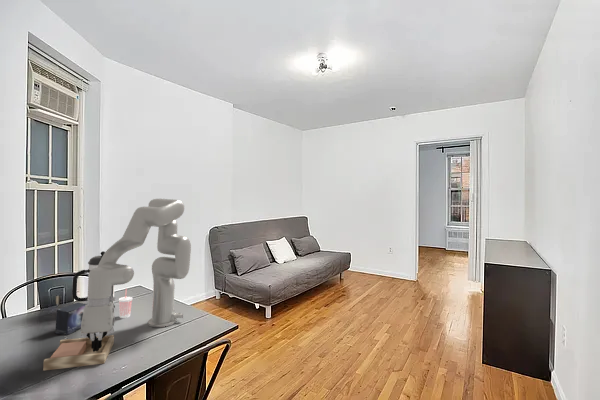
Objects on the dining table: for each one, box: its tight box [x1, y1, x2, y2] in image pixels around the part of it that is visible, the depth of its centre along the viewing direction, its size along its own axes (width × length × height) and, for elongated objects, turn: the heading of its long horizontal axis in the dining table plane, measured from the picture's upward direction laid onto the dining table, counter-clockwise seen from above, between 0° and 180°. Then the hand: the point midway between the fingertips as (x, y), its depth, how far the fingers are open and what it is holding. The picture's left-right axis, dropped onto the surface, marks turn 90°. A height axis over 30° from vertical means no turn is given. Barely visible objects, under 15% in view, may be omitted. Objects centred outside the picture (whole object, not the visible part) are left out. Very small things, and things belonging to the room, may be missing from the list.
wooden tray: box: [42, 334, 115, 371], centre depth 117 cm, size 18×16×4 cm
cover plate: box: [49, 341, 86, 358], centre depth 116 cm, size 8×11×3 cm
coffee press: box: [71, 251, 119, 309], centre depth 166 cm, size 17×16×30 cm
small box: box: [54, 302, 87, 336], centre depth 140 cm, size 11×6×10 cm, turn 168°
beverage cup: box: [118, 287, 133, 319], centre depth 158 cm, size 6×6×14 cm
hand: (96, 349), depth 119 cm, fingers closed
